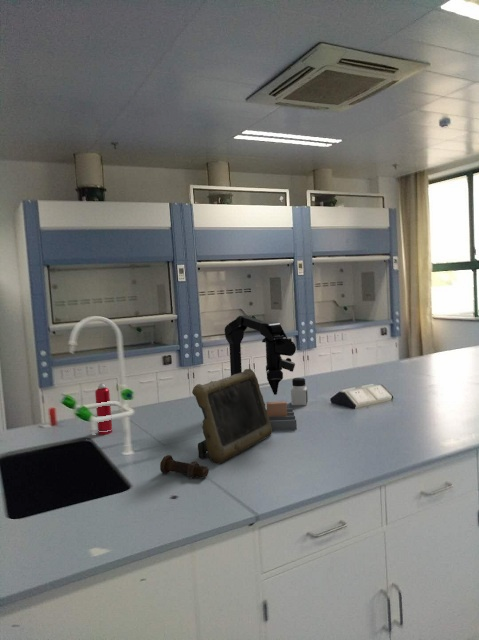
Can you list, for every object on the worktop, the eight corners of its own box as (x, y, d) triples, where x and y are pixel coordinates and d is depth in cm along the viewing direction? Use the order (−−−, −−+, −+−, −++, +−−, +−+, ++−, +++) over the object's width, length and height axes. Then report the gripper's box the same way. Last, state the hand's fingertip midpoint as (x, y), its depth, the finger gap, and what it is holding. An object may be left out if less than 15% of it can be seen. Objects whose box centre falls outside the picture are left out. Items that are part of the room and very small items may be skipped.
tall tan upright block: (267, 423, 179) (266, 404, 179) (267, 421, 182) (266, 402, 182) (287, 422, 179) (286, 403, 179) (287, 420, 182) (286, 401, 182)
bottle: (108, 429, 185) (104, 381, 184) (114, 431, 181) (111, 383, 180) (95, 432, 181) (92, 384, 180) (102, 435, 178) (98, 385, 176)
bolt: (205, 485, 131) (163, 477, 138) (212, 471, 135) (171, 463, 141) (199, 473, 128) (157, 464, 135) (207, 459, 132) (165, 451, 138)
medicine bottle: (307, 405, 206) (305, 379, 205) (291, 405, 207) (290, 379, 207) (307, 401, 213) (306, 376, 212) (292, 401, 214) (291, 376, 214)
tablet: (227, 466, 140) (223, 387, 138) (192, 460, 147) (187, 385, 145) (274, 434, 167) (271, 368, 166) (242, 430, 175) (239, 367, 173)
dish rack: (260, 430, 173) (259, 421, 172) (259, 418, 189) (259, 409, 189) (296, 429, 172) (296, 420, 172) (293, 416, 189) (292, 408, 189)
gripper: (295, 356, 170) (297, 396, 171) (291, 349, 189) (292, 386, 190) (266, 357, 170) (267, 398, 172) (265, 350, 189) (266, 387, 190)
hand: (274, 391), depth 181 cm, fingers open, 9 cm apart
